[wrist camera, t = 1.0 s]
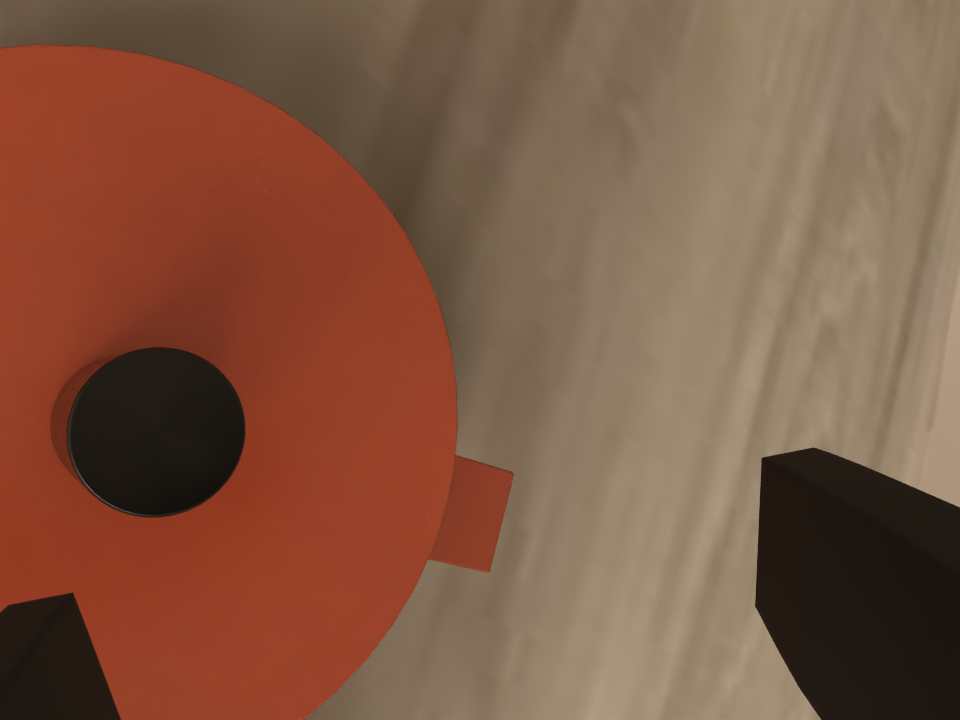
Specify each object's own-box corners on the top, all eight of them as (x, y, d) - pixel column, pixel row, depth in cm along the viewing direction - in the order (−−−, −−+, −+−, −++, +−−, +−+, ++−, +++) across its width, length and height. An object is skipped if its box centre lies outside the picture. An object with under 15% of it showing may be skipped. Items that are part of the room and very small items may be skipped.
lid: (341, 813, 18) (440, 930, 14) (-535, 757, 12) (-793, 940, 8) (497, 226, 20) (619, 187, 16) (-167, -78, 14) (-225, -257, 10)
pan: (355, 720, 23) (450, 806, 19) (-549, 612, 15) (-796, 717, 10) (468, 296, 25) (580, 276, 21) (-269, 0, 17) (-366, -150, 12)
